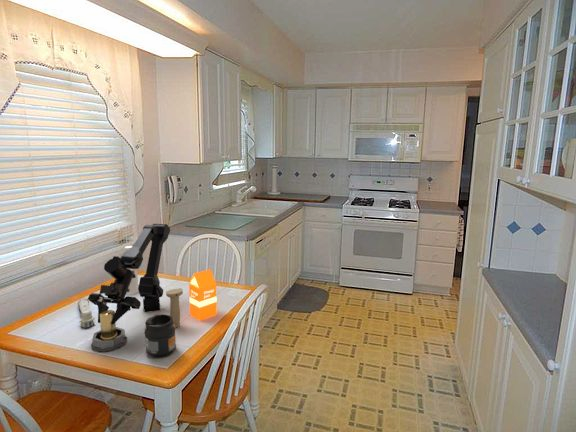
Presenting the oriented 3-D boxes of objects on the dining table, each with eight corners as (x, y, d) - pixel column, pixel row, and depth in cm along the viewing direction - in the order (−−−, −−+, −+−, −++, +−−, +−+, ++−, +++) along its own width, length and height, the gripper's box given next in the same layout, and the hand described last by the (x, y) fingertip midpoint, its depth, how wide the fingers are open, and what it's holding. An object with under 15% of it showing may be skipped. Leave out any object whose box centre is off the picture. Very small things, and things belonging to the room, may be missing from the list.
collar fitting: (127, 333, 147) (127, 324, 146) (125, 349, 136) (125, 339, 135) (93, 338, 143) (93, 328, 142) (88, 354, 132) (88, 344, 131)
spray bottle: (123, 290, 189) (120, 242, 184) (138, 288, 192) (135, 241, 187) (124, 295, 183) (121, 246, 179) (138, 293, 186) (136, 244, 181)
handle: (185, 326, 154) (184, 291, 151) (170, 330, 150) (168, 295, 147) (181, 321, 158) (179, 287, 155) (165, 325, 154) (164, 291, 151)
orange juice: (217, 314, 165) (216, 271, 161) (199, 321, 159) (198, 276, 155) (206, 309, 170) (205, 266, 167) (189, 315, 164) (188, 271, 160)
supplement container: (181, 345, 139) (180, 315, 137) (166, 361, 129) (165, 328, 127) (156, 341, 142) (154, 312, 139) (139, 356, 131) (137, 324, 129)
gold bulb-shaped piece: (114, 332, 143) (112, 308, 141) (119, 338, 139) (118, 313, 137) (98, 338, 139) (96, 312, 137) (104, 343, 135) (102, 318, 134)
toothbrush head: (89, 296, 173) (93, 309, 151) (90, 310, 173) (95, 325, 152) (75, 298, 170) (79, 312, 149) (77, 313, 170) (80, 328, 149)
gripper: (88, 272, 140) (69, 313, 132) (134, 276, 137) (118, 318, 129) (103, 285, 149) (87, 323, 141) (147, 289, 146) (132, 328, 138)
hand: (105, 323), depth 137 cm, fingers closed on gold bulb-shaped piece, 5 cm apart
